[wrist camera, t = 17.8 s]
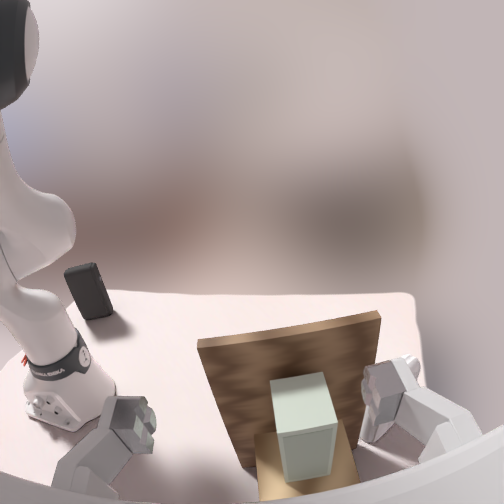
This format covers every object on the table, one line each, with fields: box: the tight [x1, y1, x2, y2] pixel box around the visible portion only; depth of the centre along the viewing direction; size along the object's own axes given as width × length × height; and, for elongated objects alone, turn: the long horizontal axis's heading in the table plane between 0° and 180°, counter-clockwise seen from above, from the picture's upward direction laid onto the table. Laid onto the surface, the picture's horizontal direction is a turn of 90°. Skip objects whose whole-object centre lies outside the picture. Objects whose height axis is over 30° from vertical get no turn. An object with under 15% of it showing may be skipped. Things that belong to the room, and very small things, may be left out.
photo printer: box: [359, 354, 420, 442], centre depth 40 cm, size 10×4×12 cm, turn 126°
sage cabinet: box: [270, 372, 338, 483], centre depth 28 cm, size 5×6×12 cm
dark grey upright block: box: [64, 263, 113, 320], centre depth 77 cm, size 9×4×15 cm, turn 103°
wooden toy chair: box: [197, 310, 381, 501], centre depth 30 cm, size 17×11×26 cm, turn 94°
